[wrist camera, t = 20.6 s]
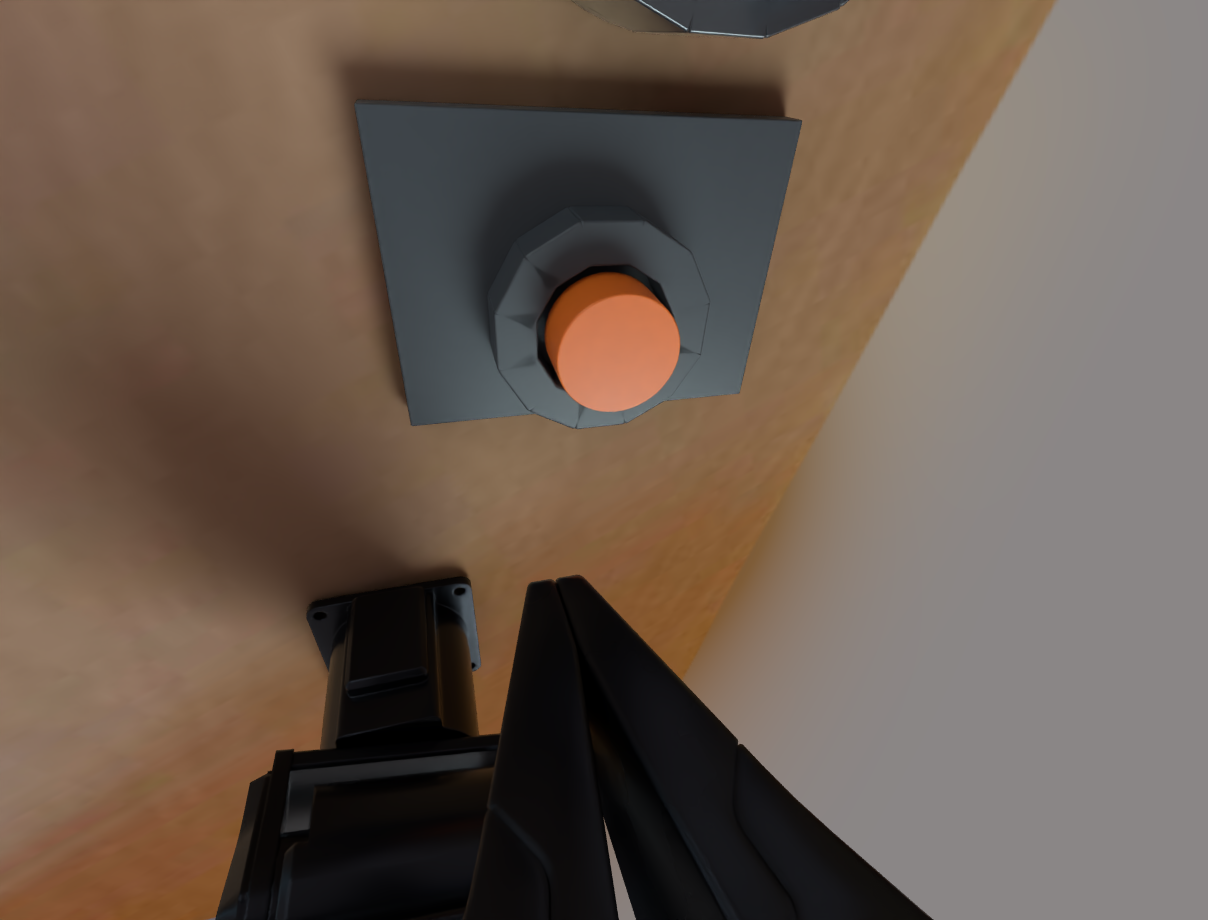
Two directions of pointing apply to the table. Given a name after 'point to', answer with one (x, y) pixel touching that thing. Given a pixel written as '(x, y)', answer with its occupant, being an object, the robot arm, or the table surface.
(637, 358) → the button
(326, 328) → the table surface
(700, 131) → the button base
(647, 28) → the dark grey cup holder
